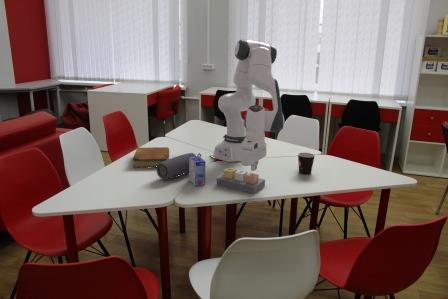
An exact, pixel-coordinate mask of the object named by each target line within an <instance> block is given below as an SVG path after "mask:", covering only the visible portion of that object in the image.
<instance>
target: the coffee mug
mask: <svg viewBox="0 0 448 299" xmlns="http://www.w3.org/2000/svg"><path fill="white" fill-rule="evenodd" d="M297 158H298V173H299V174H301V175H306V176H307V175H308V176H309V175H311V174H312V169H313V165H314V161H315V158H316V157H315V154H314V153H311V152H298V154H297Z"/></svg>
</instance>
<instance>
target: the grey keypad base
mask: <svg viewBox="0 0 448 299" xmlns="http://www.w3.org/2000/svg"><path fill="white" fill-rule="evenodd" d="M217 185H218V186H217ZM216 186H217V187H222V188H227V189H230V190H233V191H238V192H242V193H247V194H251V195H255V194H257V192H259V191H260V190H262V189H263V188H264V187H265V186H266V179H265V178H261V177H260V178H259V177H258V182H257V183H256V184H251V183H247V182H246V180H245V181H243V182H242V181H238V180H235V178H233V179H229V178H225V177H224V174H222V175H221V176H219V177H217V178H216Z"/></svg>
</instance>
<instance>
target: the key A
mask: <svg viewBox="0 0 448 299" xmlns="http://www.w3.org/2000/svg"><path fill="white" fill-rule="evenodd" d="M235 172H237V169H236V168H231V167H227V168H225V169H223V175H224V177H225V178H229V179H233V178H235Z"/></svg>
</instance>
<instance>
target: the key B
mask: <svg viewBox="0 0 448 299" xmlns="http://www.w3.org/2000/svg"><path fill="white" fill-rule="evenodd" d="M247 174H248V171H247V170H246V171H245V170H242V169H241V170H240V169H239V170H236V172H235V180H238V181H242V182H243V181H245V180H246V175H247Z"/></svg>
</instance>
